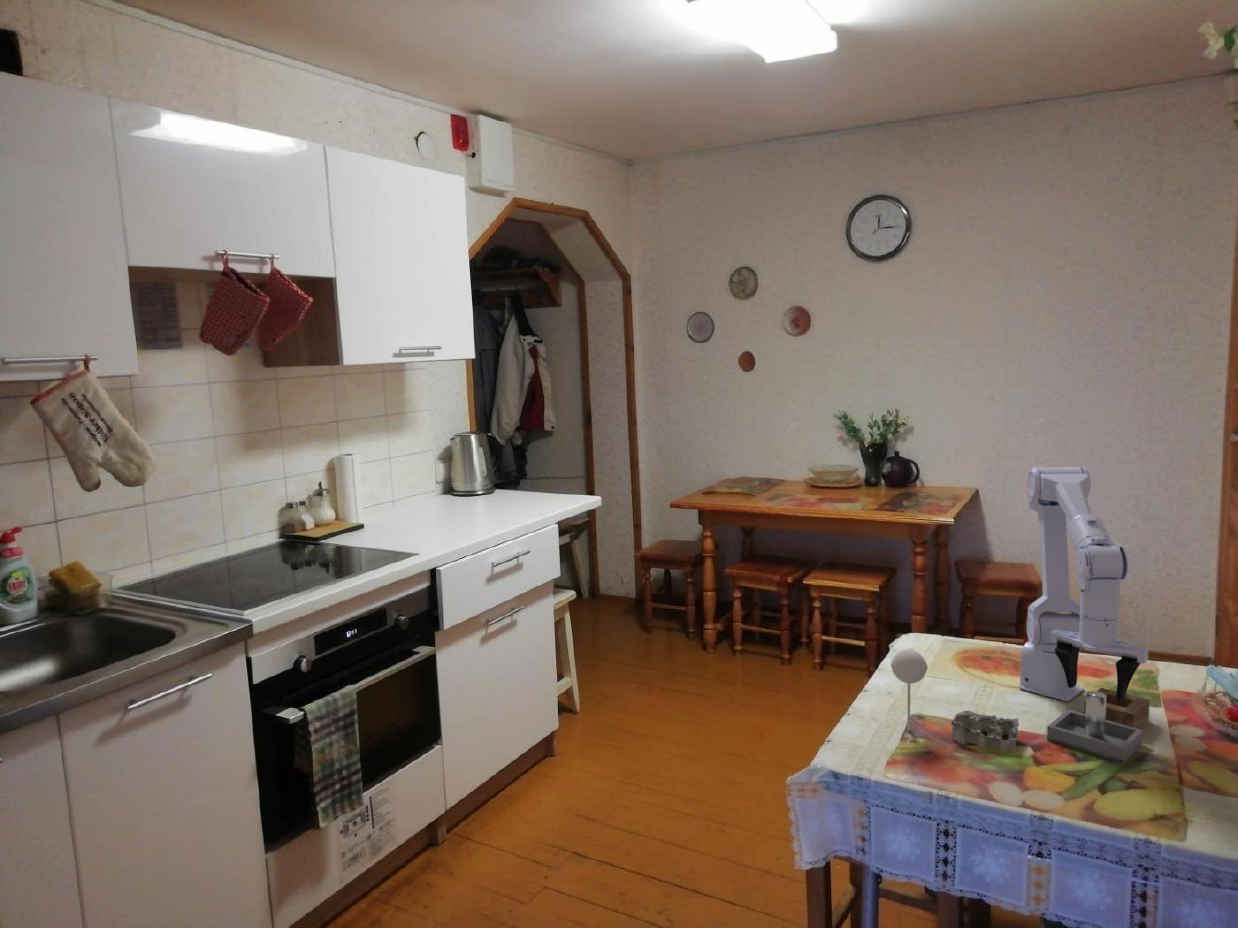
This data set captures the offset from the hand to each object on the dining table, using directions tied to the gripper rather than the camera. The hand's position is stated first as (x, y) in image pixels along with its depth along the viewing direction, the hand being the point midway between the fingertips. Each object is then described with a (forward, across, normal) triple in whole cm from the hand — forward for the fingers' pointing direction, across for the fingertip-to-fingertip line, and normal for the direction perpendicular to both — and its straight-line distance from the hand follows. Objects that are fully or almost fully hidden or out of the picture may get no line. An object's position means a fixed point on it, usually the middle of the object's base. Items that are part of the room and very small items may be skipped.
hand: (1096, 692), depth 145 cm
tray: (+9, 0, 0) cm, 9 cm away
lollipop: (+9, -25, -17) cm, 32 cm away
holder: (+9, 0, +10) cm, 14 cm away
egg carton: (+10, -14, -11) cm, 20 cm away
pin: (+8, 0, 0) cm, 9 cm away
